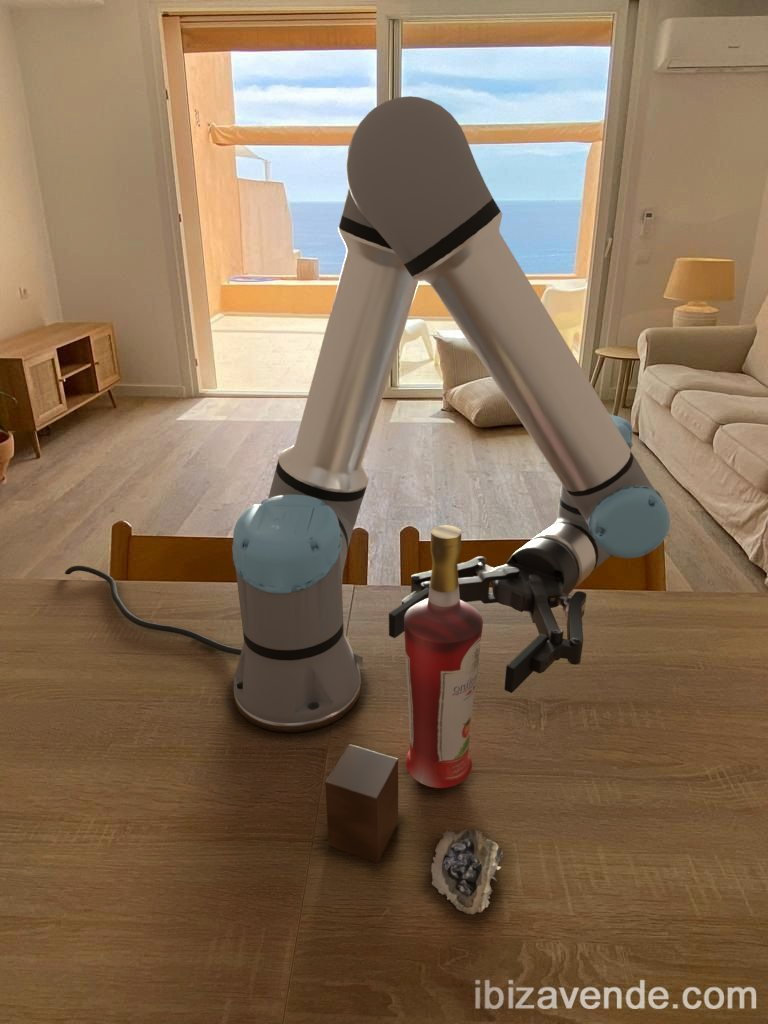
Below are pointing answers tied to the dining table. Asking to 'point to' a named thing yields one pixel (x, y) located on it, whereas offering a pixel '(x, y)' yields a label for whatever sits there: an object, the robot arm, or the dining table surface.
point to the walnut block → (362, 802)
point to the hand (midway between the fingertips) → (446, 651)
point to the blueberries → (466, 869)
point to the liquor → (441, 670)
